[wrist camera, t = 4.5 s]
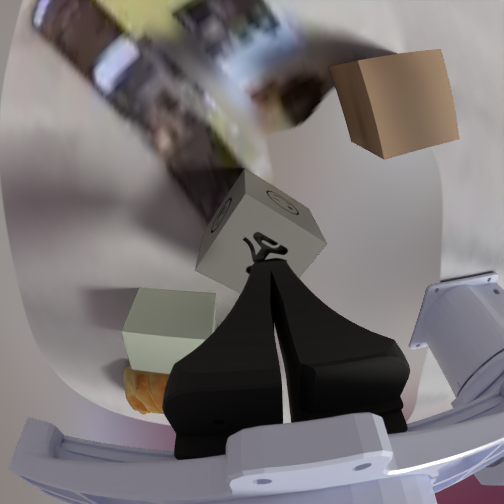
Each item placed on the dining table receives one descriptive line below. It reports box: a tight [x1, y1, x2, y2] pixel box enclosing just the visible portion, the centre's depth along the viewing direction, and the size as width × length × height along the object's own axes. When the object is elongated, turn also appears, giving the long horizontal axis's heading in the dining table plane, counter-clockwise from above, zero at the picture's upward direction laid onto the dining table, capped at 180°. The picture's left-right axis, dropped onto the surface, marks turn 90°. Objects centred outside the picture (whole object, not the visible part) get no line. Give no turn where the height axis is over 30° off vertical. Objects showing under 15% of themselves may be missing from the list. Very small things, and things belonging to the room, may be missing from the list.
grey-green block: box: [122, 288, 216, 374], centre depth 22 cm, size 6×4×5 cm, turn 85°
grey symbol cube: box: [195, 168, 327, 293], centre depth 18 cm, size 5×5×5 cm
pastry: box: [123, 365, 170, 414], centre depth 27 cm, size 9×7×4 cm
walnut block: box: [329, 49, 459, 159], centre depth 14 cm, size 5×5×5 cm
